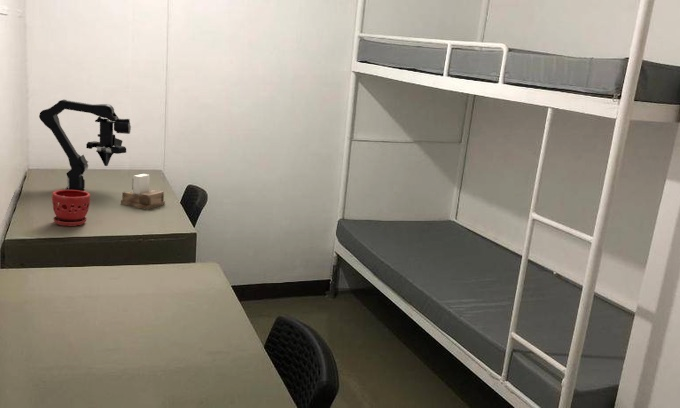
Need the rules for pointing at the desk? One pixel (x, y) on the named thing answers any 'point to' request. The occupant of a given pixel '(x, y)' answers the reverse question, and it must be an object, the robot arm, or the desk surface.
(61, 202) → the plant pot
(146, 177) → the white rectangular block
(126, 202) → the housing
